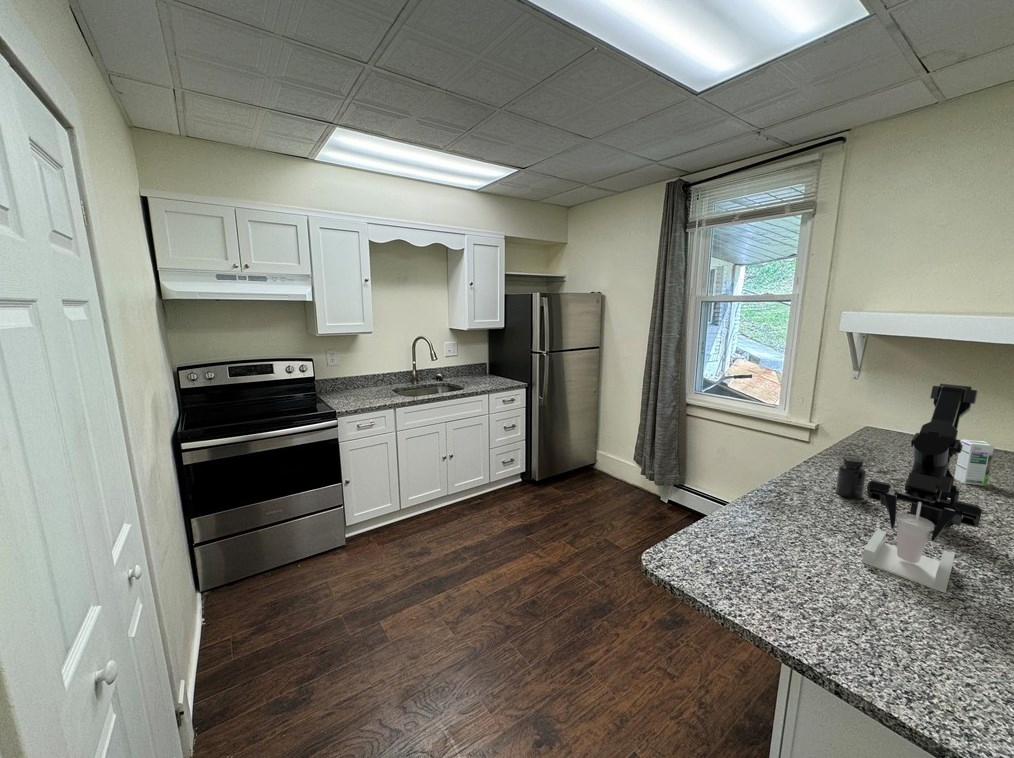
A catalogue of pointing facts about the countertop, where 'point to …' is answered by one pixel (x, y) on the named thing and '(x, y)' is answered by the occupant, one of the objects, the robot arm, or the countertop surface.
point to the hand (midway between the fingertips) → (911, 534)
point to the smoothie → (912, 535)
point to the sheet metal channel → (908, 563)
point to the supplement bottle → (851, 478)
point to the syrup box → (974, 462)
